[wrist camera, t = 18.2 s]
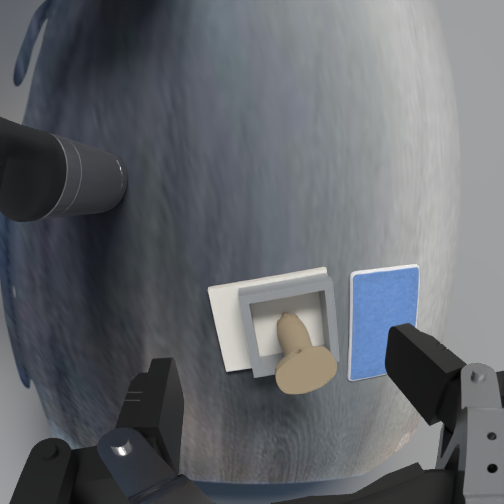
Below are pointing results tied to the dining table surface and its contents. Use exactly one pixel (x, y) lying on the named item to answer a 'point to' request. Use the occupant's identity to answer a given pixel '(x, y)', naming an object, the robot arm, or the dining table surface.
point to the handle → (301, 358)
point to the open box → (272, 317)
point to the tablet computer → (378, 315)
